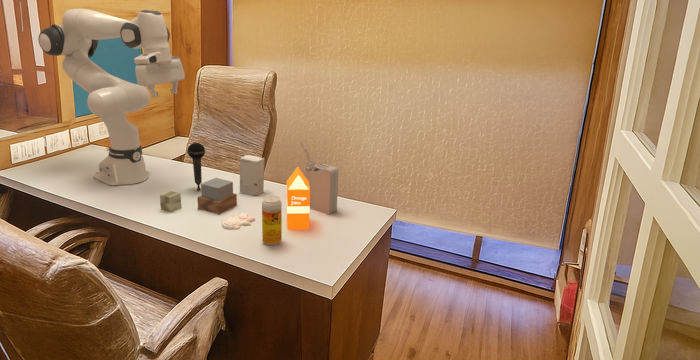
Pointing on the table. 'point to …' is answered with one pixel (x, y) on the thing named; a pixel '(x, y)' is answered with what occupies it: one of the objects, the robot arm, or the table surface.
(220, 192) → the slate top block
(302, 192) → the orange juice
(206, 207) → the walnut base block
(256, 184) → the skincare box
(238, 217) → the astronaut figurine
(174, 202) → the sage cube
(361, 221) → the table surface
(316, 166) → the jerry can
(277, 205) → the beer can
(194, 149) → the microphone
